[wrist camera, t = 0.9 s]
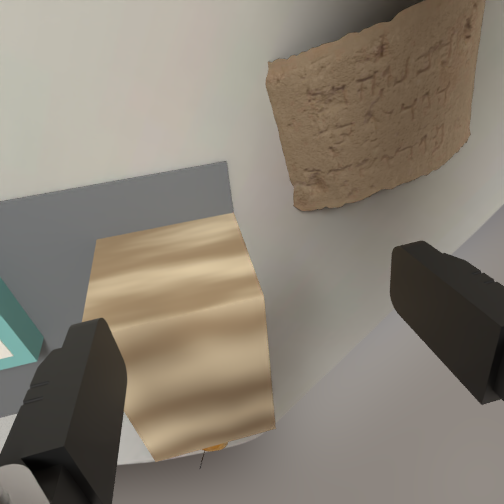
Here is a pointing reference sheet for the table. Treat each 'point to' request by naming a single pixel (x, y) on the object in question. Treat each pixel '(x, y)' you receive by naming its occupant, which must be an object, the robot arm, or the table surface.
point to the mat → (87, 246)
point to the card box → (16, 332)
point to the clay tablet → (377, 103)
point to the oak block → (186, 333)
